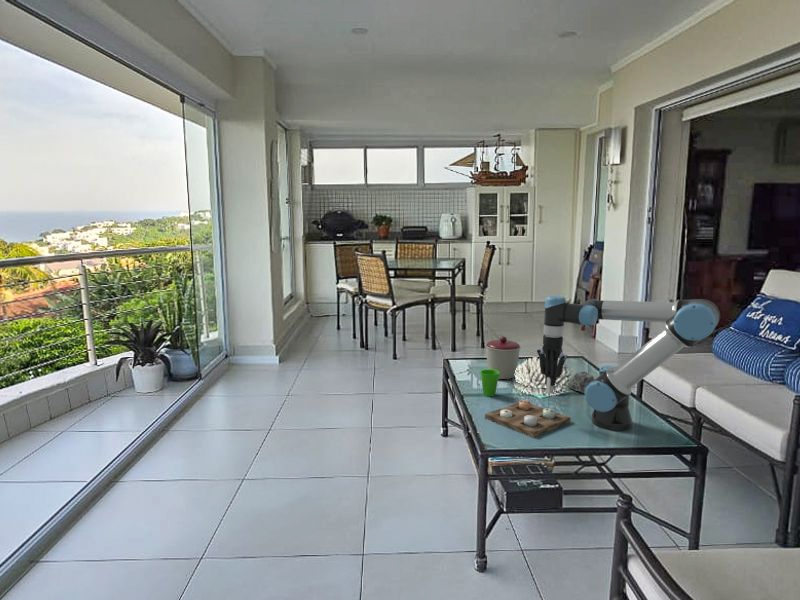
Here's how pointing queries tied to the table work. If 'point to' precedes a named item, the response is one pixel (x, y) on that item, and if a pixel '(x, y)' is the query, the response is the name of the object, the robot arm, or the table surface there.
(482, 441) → the table surface
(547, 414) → the button two
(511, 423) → the panel
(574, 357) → the table surface
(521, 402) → the button three
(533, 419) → the button blank
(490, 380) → the cup
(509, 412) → the button one
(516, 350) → the canister
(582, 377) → the mineral rock
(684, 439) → the table surface
